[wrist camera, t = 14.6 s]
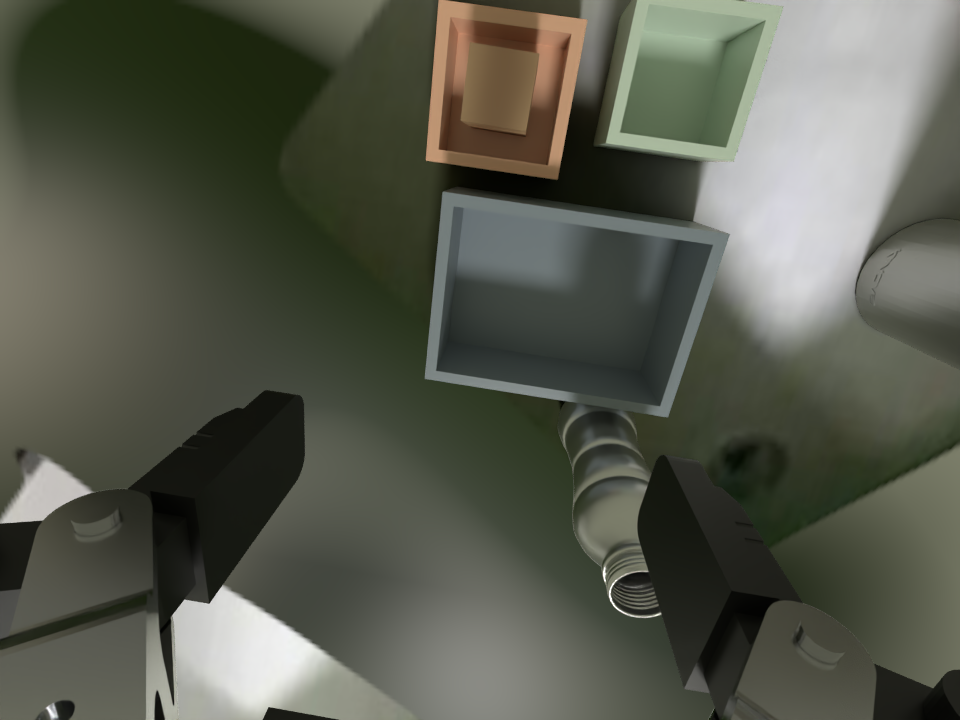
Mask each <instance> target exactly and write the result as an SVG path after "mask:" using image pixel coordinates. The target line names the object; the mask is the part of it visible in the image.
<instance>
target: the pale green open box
mask: <svg viewBox="0 0 960 720" xmlns="http://www.w3.org/2000/svg"><path fill="white" fill-rule="evenodd" d="M782 10H783V6H775V5H768V4H760V3H753V2H746V1H738V0H631V2H630V3H629V5H628V6H627V8H626V9H625V11H624V12H623V14H622V15H621V17H620V19H619V24H618V29H617V34H616V38H615V43H614V48H613V53H612V58H611V62H610V67H609V72H608V77H607V81H606V86H605V91H604V96H603V101H602V105H601V110H600V115H599V120H598V124H597V129H596V134H595V139H594V144H593V146H595V147H602V148H609V149H616V150H623V151H630V152H636V153H643V154H650V155H657V156H664V157H671V158H678V159H685V160H692V161H699V162H734V159H735V156H736V152H737V149H738V146H739V143H740V140H741V137H742V134H743V131H744V128H745V125H746V121H747V118H748V115H749V112H750V109H751V106H752V103H753V100H754V97H755V94H756V90H757V87H758V84H759V81H760V78H761V75H762V72H763V69H764V66H765V62H766V59H767V56H768V53H769V50H770V47H771V44H772V41H773V38H774V35H775V31H776V28H777V25H778V22H779V19H780V16H781V13H782Z"/></svg>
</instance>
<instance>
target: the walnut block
mask: <svg viewBox="0 0 960 720" xmlns="http://www.w3.org/2000/svg"><path fill="white" fill-rule="evenodd" d="M538 61H539V53H533V52H527V51H521V50H515V49H509V48H502V47H496V46H490V45H484V44H478V43H472V42H470V47H469V55H468V63H467V71H466V79H465V87H464V95H463V104H462V112H461V121H462V122H464V123H465V124H467V125H468V126H470V127H471V128H475V129H481V130H487V131H493V132H499V133H504V134H510V135H516V136H522V137H526V132H527V126H528V121H529V115H530V109H531V104H532V98H533V92H534V86H535V81H536V75H537V68H538Z"/></svg>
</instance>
